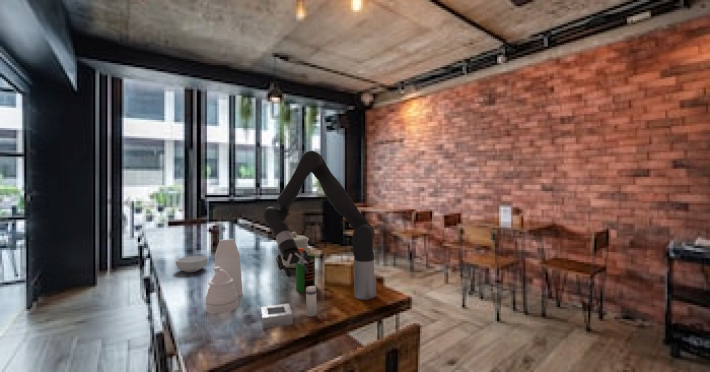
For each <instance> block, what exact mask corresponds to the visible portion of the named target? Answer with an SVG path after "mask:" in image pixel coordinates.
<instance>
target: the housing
mask: <svg viewBox="0 0 710 372" xmlns="http://www.w3.org/2000/svg"><path fill="white" fill-rule="evenodd" d="M260 317H261V318H260V319H261V327H262V329H270V328H276V327H283V326H290V325H294V324H293V323H294V322H293V321H294V320H293V312H292V309H291V306H290V303H281V304H276V305H275V304H274V305H267V306H266V305H265V306H261V307H260Z"/></svg>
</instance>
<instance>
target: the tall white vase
mask: <svg viewBox="0 0 710 372" xmlns="http://www.w3.org/2000/svg"><path fill="white" fill-rule="evenodd" d="M214 254H215V255H214V267H220V269H223V270H225V271H226V272H227V273H228V275H229V276H230V278H232V279H233V282H232V283H233V285H234V286H235V289H236V292H237V297H240V296H241V297H242V296H244V294H243V292H244V291H243V280H242V268H241V256H240V252H239V249H238V246H237V244H236V242H235V239H234V238H227V239H226V238H224V239H220V240H219V242H218V244H217V247H216V250H215V253H214ZM215 273H216V272H215V271H214V274H215Z"/></svg>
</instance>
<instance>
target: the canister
mask: <svg viewBox="0 0 710 372" xmlns="http://www.w3.org/2000/svg"><path fill="white" fill-rule="evenodd" d="M290 233H291V234H292V236H293V238H294V240H295V243H296V245H297V247H298V249H299V248H304V249H305V251H306V252H307V253H308V244H309V243H308V242H309V240H310V237H309V238H308V237H307V236H305V235H298V233H297V232H296V231H292V232H290ZM300 256H301V255H300ZM282 262H283V265H285V263H286V261H285V260H283V259H282ZM288 267H289V269H296V263H293V264H289V265H288Z"/></svg>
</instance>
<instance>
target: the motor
mask: <svg viewBox="0 0 710 372" xmlns="http://www.w3.org/2000/svg"><path fill="white" fill-rule="evenodd" d="M298 251H299V252H300V253H301V252H303V251H305V249H304V248H299V249H298ZM308 256H309V258H310V260H311V261H310V263H309V264H308V266H309V268H310V271H309V273H308V274H306V272H305V269H304V266H303V265H301V264H299V263H296V268H295V290H296V291H297V292H301V293H306V287H309V286H315V287H316V256H315V255H314V254H308ZM301 257H302V256H301ZM299 261H301V260H300V259H299ZM303 263H304V262H303Z"/></svg>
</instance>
